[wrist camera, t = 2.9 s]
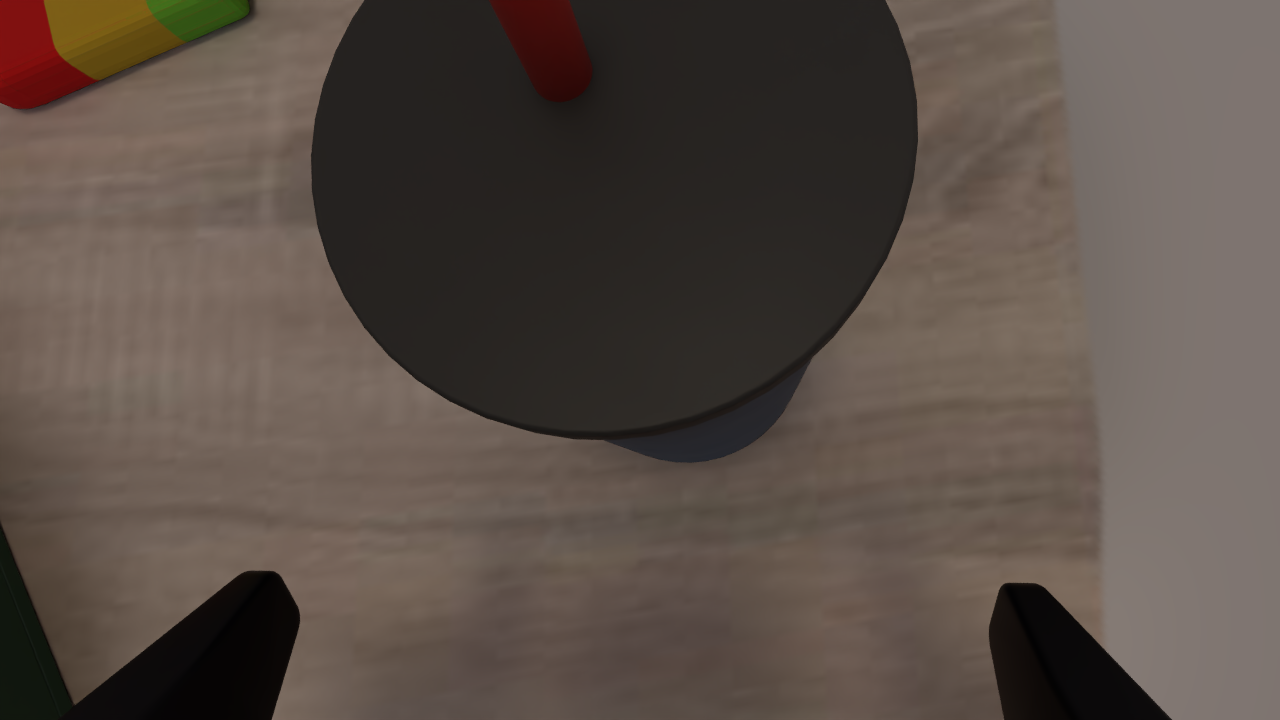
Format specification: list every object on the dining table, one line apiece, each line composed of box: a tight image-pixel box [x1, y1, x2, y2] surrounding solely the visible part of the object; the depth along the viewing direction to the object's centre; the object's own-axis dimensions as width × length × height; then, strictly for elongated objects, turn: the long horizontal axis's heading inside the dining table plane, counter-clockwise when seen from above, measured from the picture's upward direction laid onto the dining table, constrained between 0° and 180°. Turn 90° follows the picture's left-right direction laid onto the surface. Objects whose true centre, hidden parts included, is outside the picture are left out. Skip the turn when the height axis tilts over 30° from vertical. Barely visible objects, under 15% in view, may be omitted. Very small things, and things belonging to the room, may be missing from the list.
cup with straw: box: [311, 0, 918, 463], centre depth 13 cm, size 7×7×18 cm
